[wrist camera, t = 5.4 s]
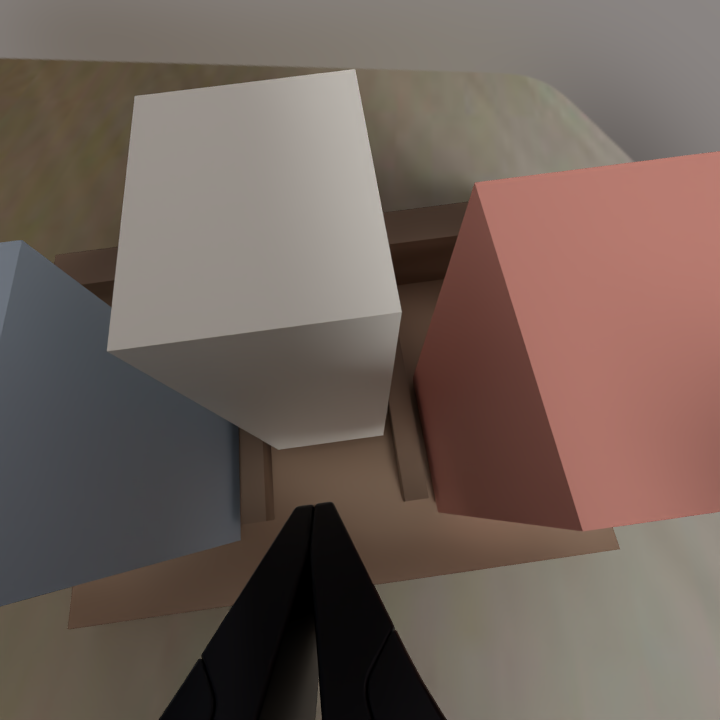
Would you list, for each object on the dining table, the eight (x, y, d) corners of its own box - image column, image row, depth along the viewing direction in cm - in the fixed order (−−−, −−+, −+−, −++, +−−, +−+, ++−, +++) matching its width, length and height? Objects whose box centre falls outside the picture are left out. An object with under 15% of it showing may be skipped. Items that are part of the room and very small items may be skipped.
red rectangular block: (549, 496, 14) (934, 480, 4) (438, 512, 14) (582, 531, 4) (511, 365, 15) (725, 150, 6) (412, 378, 15) (474, 182, 6)
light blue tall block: (240, 540, 13) (-64, 623, 4) (126, 556, 13) (-450, 679, 4) (237, 402, 15) (21, 239, 6) (136, 416, 15) (-245, 274, 6)
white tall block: (383, 435, 15) (401, 312, 5) (278, 449, 14) (106, 351, 5) (365, 318, 16) (355, 68, 7) (272, 330, 16) (134, 95, 7)
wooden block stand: (596, 544, 15) (686, 561, 10) (97, 616, 14) (-18, 663, 10) (505, 260, 19) (543, 192, 15) (126, 310, 19) (55, 254, 15)
